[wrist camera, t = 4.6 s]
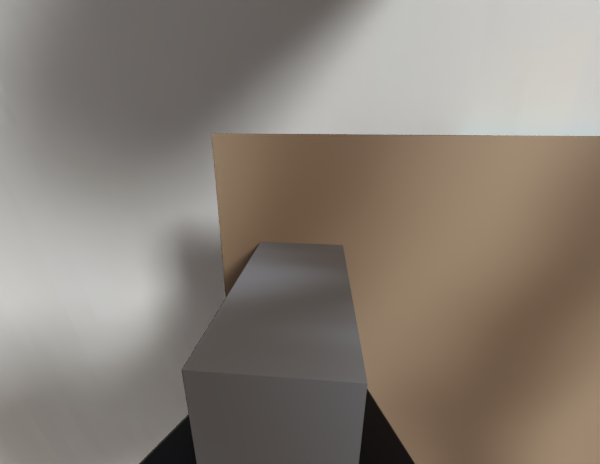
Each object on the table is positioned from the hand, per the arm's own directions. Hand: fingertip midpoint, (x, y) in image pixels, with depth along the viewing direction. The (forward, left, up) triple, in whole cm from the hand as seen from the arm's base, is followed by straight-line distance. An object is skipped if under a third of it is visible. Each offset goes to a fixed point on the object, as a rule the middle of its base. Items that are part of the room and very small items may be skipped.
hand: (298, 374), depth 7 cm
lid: (-6, 0, -1) cm, 6 cm away
